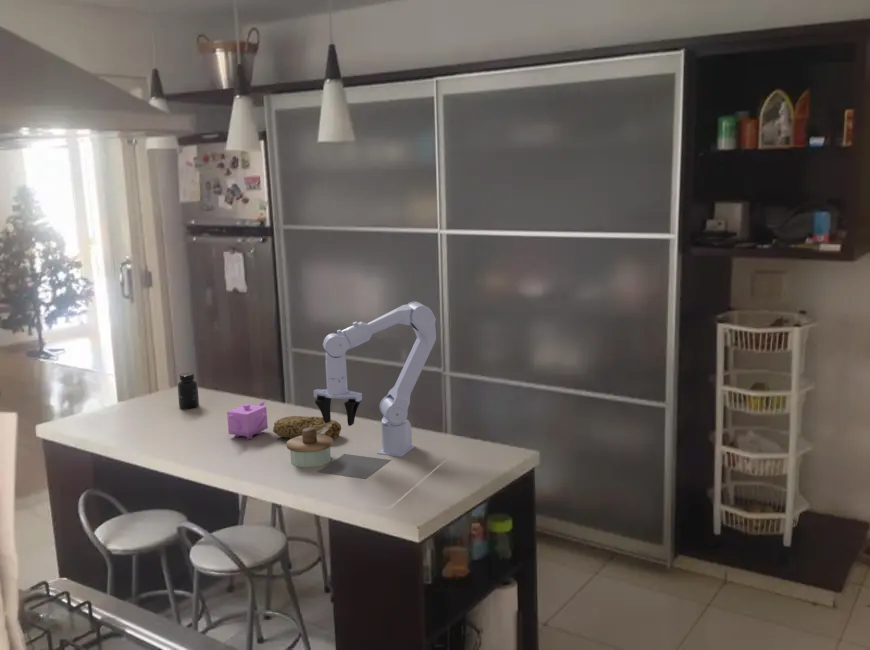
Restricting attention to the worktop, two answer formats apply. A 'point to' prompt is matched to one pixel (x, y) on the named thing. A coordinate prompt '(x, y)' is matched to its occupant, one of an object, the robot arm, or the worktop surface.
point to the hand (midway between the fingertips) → (339, 423)
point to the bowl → (310, 458)
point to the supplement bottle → (188, 391)
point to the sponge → (305, 426)
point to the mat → (354, 466)
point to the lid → (309, 441)
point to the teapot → (247, 420)
